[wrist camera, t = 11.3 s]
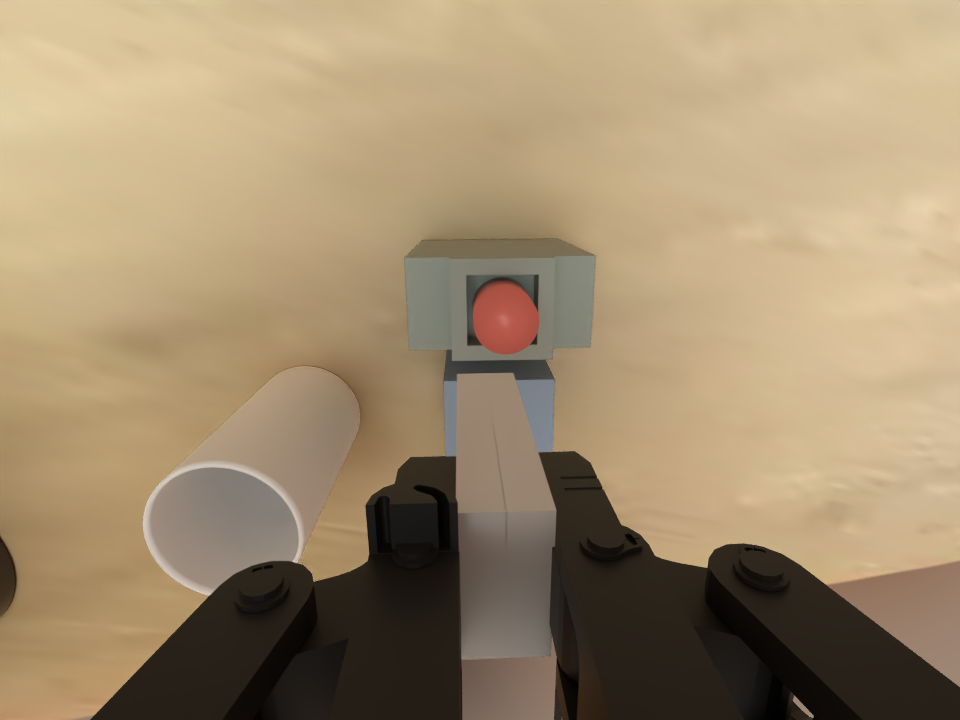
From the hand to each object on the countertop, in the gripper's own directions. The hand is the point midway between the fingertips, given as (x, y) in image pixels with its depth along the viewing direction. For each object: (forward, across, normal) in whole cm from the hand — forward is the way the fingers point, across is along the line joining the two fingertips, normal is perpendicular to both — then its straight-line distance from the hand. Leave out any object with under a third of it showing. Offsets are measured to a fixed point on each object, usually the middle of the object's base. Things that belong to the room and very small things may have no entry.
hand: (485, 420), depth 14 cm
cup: (+27, -13, -11) cm, 32 cm away
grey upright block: (+27, +2, 0) cm, 27 cm away
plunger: (+14, +1, 0) cm, 14 cm away
